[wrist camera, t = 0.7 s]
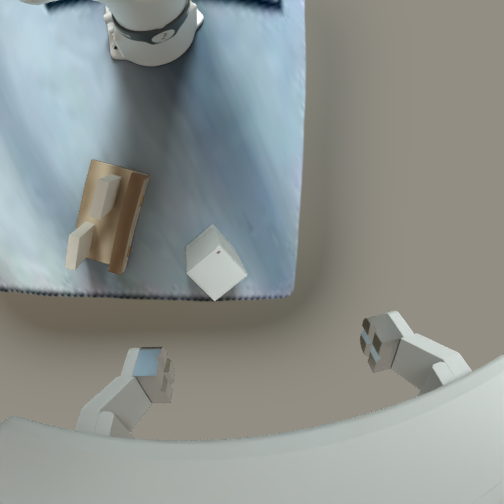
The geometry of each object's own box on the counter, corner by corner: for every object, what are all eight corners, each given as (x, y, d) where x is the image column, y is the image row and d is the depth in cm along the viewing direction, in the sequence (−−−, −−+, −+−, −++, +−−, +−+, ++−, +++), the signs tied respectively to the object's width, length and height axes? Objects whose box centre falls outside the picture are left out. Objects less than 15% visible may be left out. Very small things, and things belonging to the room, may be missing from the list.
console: (74, 251, 51) (67, 258, 47) (93, 159, 46) (86, 160, 42) (127, 267, 54) (123, 275, 51) (151, 175, 50) (148, 177, 46)
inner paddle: (103, 205, 48) (89, 216, 39) (112, 174, 46) (97, 179, 38) (113, 208, 48) (100, 219, 40) (121, 176, 47) (109, 182, 39)
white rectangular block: (81, 249, 49) (65, 267, 41) (85, 221, 48) (69, 234, 39) (89, 252, 50) (74, 270, 42) (95, 224, 48) (79, 238, 40)
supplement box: (184, 246, 56) (184, 272, 44) (213, 222, 55) (220, 242, 44) (208, 272, 59) (214, 303, 47) (236, 249, 58) (249, 275, 47)
